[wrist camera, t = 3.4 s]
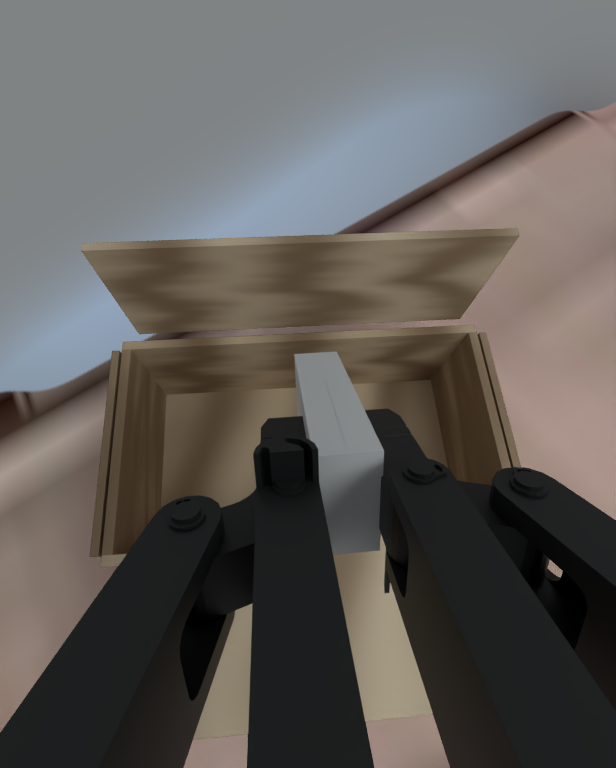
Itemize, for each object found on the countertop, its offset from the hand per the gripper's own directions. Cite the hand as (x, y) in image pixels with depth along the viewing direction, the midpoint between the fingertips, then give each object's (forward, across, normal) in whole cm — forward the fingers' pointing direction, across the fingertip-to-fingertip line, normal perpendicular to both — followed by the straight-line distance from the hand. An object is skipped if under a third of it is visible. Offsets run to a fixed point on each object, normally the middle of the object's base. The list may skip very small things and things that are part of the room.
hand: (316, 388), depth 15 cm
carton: (+9, 0, +13) cm, 16 cm away
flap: (+11, 0, +1) cm, 11 cm away
